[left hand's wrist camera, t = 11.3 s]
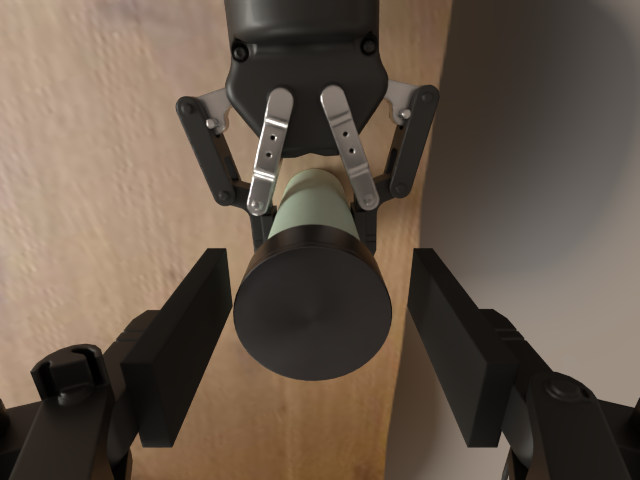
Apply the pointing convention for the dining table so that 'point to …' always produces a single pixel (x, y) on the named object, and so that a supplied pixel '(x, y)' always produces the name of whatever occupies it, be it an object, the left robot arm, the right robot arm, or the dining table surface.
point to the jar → (314, 203)
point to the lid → (312, 304)
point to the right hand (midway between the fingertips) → (316, 262)
